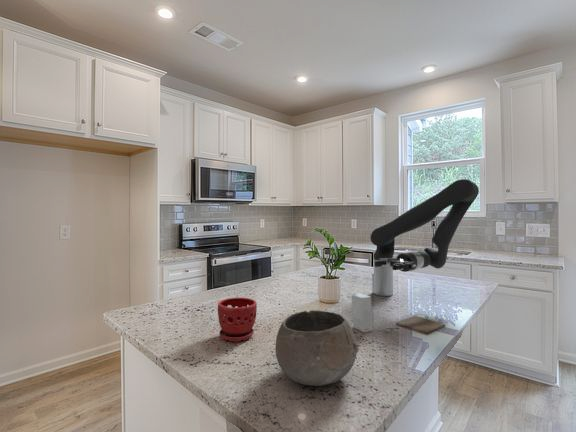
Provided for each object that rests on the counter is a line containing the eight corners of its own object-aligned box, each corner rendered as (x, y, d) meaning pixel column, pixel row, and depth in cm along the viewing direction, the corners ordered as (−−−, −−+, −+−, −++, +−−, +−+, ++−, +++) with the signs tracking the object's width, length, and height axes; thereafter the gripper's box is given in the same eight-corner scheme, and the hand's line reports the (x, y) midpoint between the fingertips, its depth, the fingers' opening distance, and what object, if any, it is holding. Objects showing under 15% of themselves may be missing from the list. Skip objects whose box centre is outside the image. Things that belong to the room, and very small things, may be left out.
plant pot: (240, 347, 100) (239, 310, 99) (210, 339, 107) (209, 304, 106) (264, 333, 111) (264, 299, 110) (236, 326, 118) (235, 294, 117)
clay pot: (296, 410, 68) (295, 341, 68) (264, 367, 87) (263, 312, 87) (375, 387, 77) (374, 325, 76) (330, 352, 96) (329, 302, 95)
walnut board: (396, 324, 117) (396, 322, 117) (414, 317, 124) (414, 315, 124) (426, 334, 107) (426, 332, 107) (445, 326, 114) (445, 324, 114)
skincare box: (372, 330, 112) (372, 296, 111) (362, 333, 110) (362, 298, 109) (361, 325, 117) (361, 292, 117) (351, 327, 115) (351, 294, 115)
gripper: (395, 250, 136) (369, 253, 127) (425, 254, 125) (399, 258, 116) (395, 267, 137) (369, 272, 128) (425, 273, 125) (399, 278, 116)
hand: (383, 265), depth 122 cm, fingers open, 8 cm apart
